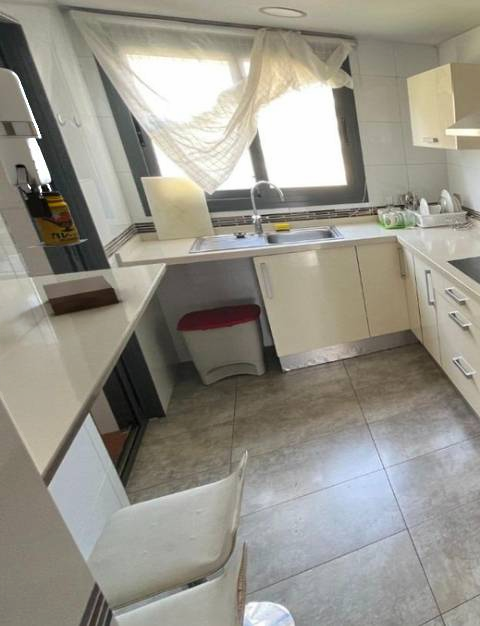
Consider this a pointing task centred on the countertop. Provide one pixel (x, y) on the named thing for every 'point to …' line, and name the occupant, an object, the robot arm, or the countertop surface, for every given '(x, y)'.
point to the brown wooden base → (80, 294)
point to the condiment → (57, 223)
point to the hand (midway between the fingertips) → (46, 214)
